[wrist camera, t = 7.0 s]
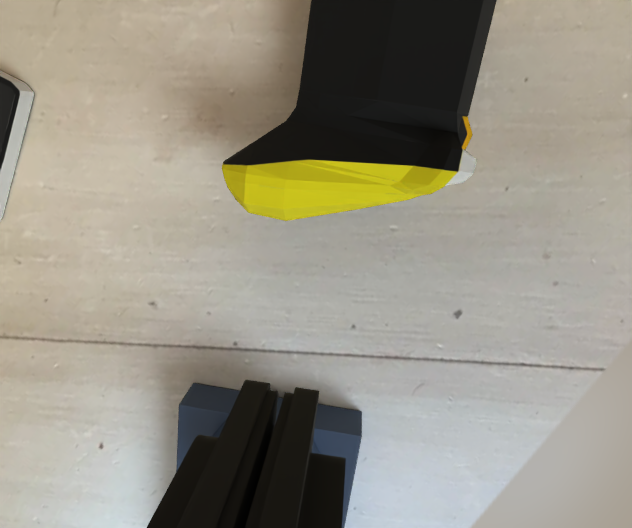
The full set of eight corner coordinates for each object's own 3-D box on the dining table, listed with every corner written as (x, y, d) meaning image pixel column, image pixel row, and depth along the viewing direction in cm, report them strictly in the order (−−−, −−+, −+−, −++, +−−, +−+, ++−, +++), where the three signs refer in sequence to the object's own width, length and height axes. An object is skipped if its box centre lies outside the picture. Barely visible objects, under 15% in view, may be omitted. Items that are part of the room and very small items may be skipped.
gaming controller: (243, 196, 23) (439, 230, 23) (208, 217, 18) (462, 262, 17) (281, -168, 18) (528, -135, 18) (249, -284, 13) (597, -242, 13)
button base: (193, 374, 26) (165, 416, 23) (363, 403, 26) (363, 451, 22) (184, 559, 31) (159, 620, 27) (328, 586, 30) (324, 653, 27)
